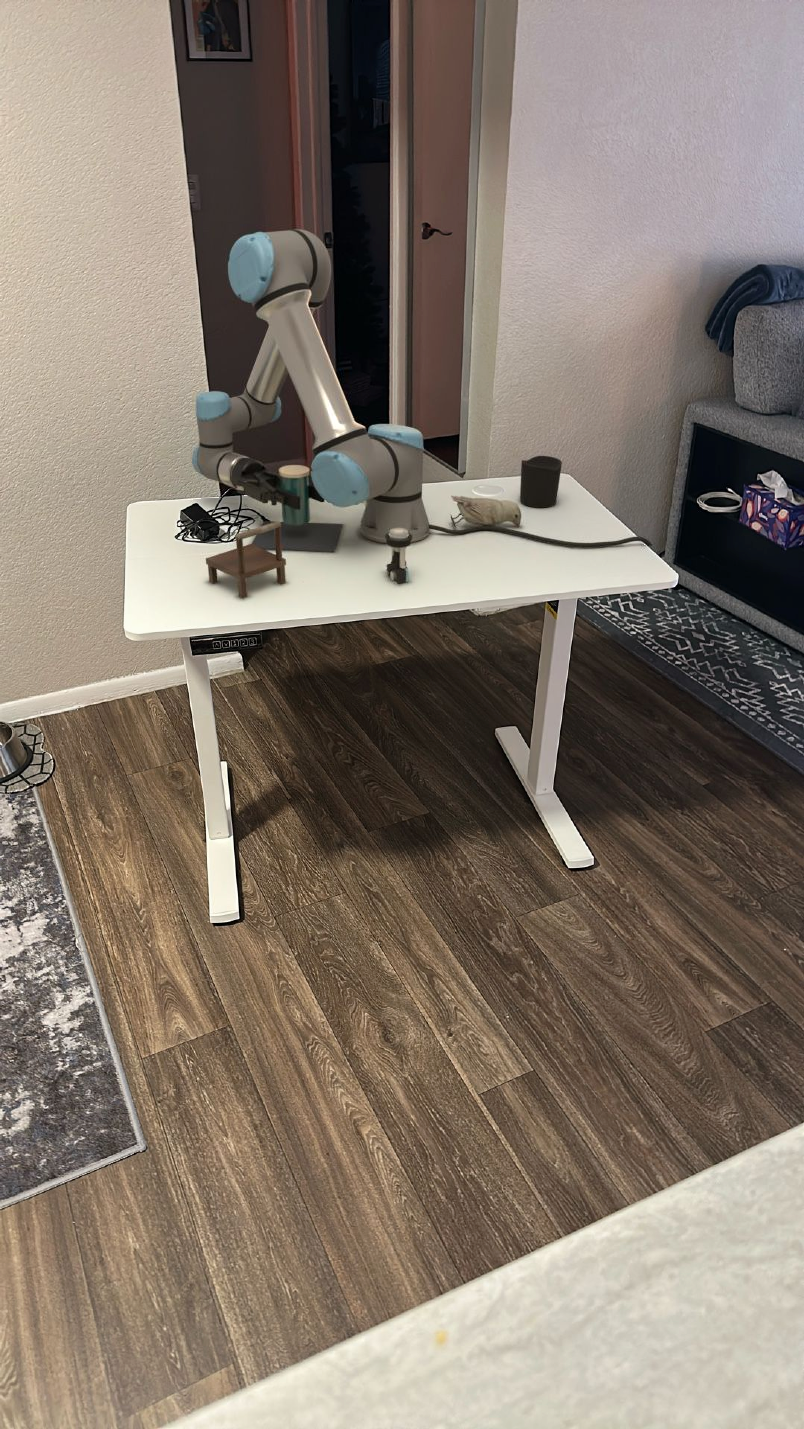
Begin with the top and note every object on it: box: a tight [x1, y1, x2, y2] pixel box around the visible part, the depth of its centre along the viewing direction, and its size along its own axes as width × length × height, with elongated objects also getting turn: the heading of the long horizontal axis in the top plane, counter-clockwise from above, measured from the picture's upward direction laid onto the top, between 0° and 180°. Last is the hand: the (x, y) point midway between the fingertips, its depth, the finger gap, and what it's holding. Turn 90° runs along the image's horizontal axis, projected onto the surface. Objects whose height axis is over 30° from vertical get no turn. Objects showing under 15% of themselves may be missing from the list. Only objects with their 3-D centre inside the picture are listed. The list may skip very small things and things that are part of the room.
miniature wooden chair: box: [205, 520, 287, 599], centre depth 184 cm, size 11×11×13 cm
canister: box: [278, 464, 311, 525], centre depth 203 cm, size 6×6×11 cm
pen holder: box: [519, 455, 563, 509], centre depth 227 cm, size 9×9×10 cm
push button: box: [385, 528, 413, 585], centre depth 187 cm, size 7×5×10 cm
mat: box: [251, 520, 344, 553], centre depth 208 cm, size 18×16×1 cm
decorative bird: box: [449, 495, 522, 530], centre depth 212 cm, size 5×16×7 cm, turn 94°
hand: (311, 499), depth 200 cm, fingers closed on canister, 6 cm apart
